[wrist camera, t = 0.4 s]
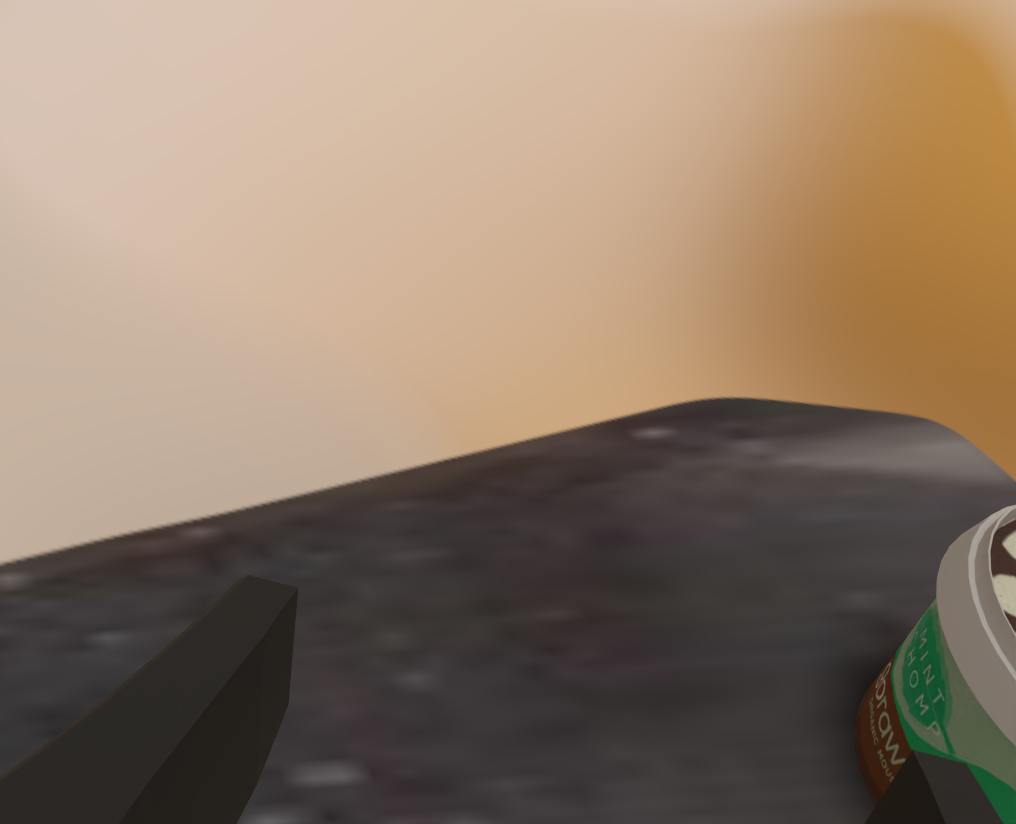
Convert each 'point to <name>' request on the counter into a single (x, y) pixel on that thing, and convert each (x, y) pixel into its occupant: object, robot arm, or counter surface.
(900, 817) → the robot arm
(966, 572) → the food container
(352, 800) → the counter surface
